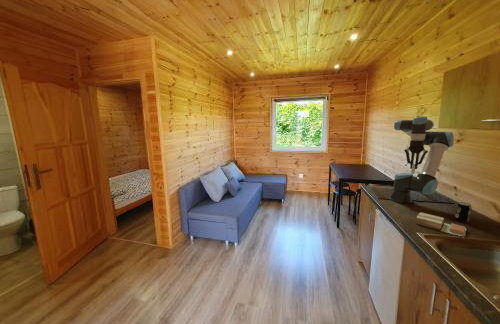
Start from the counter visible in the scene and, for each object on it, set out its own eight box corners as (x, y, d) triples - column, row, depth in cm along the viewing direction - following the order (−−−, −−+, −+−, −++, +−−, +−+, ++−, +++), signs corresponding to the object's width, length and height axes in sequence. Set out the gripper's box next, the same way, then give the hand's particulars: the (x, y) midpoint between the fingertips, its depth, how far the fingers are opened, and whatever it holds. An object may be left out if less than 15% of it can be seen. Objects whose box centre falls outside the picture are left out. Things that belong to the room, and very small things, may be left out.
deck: (419, 217, 141) (420, 212, 141) (442, 223, 132) (443, 217, 132) (415, 223, 134) (416, 217, 133) (440, 230, 125) (441, 224, 124)
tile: (465, 226, 124) (464, 229, 124) (451, 223, 128) (450, 226, 128) (463, 232, 118) (463, 235, 118) (449, 228, 122) (449, 231, 123)
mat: (444, 223, 133) (444, 222, 133) (466, 229, 125) (466, 228, 125) (440, 231, 124) (440, 230, 124) (464, 237, 116) (464, 237, 116)
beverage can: (451, 218, 140) (454, 201, 137) (463, 218, 138) (466, 202, 136) (459, 222, 133) (463, 205, 131) (471, 223, 132) (475, 205, 130)
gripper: (404, 139, 142) (400, 172, 146) (428, 140, 132) (423, 176, 137) (407, 139, 147) (403, 171, 151) (430, 140, 137) (425, 174, 142)
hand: (412, 173), depth 144 cm, fingers closed
